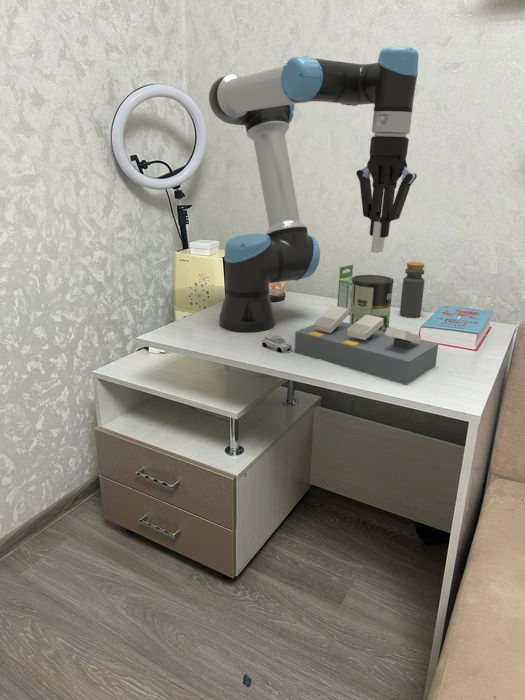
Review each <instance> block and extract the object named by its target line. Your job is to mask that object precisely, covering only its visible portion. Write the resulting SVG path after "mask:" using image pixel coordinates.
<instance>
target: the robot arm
mask: <svg viewBox="0 0 525 700" xmlns="http://www.w3.org/2000/svg"><path fill="white" fill-rule="evenodd" d="M418 68H419V52H418V49H415V48H413V47H410V46H409V47H408V46H391V47H385V48H383V49H381V50H380V52H379V56H378V59H377V62H375V63H373V62H372V63H363V64H361V63H354V62H345V61H337V60H336V61H335V60H328V59H322V58H315V57H312V56H308V55H306V56H292V57H291V58H289V59H288V60H287V62H286V63H285V64H284V65H283V66H279V67H278V66H277V67H274V68H271V69H266V70H263V71H259V72H256V73H255V72H254V73H251V74H247V75H244V76H241V75H239V74H228V75H224V76H221V77H219V78H217V80H215V81H214V82H213V84H212V85H211V87H210V88H209V89H210V90H209V93H208V103H209V106H210V109H211V111H212V113H213V114H214V115H215V117H217V119H219V120H220V121H222V122H224V123H226V124H228V125H235V126H244V127H245V131H246V136H247V138H249V139H251V140H252V141H253V145H254V149H255V151H254V152H255V156H256V161H257V166H258V167H257V168H258V172H259V179H260V183H261V184H260V185H261V190H262V194H263V201H264V207H265V210H266V211H265V213H266V218H267V223H268V230H266V233H252V234H251V233H247V234H246V233H245V234H242V235H238V236H234V237H232V238H230V239H229V240H228V241H226V243H225V246H224V247H225V248H224V257H223V259H224V260H223V261H224V277H225V278H224V280H225V281H224V283H225V286H224V287H225V290H224V291H225V295H224V299H223V303H222V307H221V312H220V313H219V316H218V317H219V319H218V321H219V326H220V327H221V328H223V329H225V330H229V331H234V332H241V333H242V332H243V333H246V332H247V333H249V332H250V333H251V332H252V333H253V332H255V333H256V332H260V331H261V332H262V331H266V330H270V329H272V328H273V327H275V325H276V314H275V312H274V309H273V304H272V301H271V297H270V284H274V283H281V282H288V281H299V280H302V279H306V278H307V279H308V278H309V277H311V276H312V275H313V274H314V273H315V272H316V270H317V267H318V266H319V264H320V261H321V250H320V249H321V248H320V244H319V242H318V241H317V240H316V237H314V236H312V235H311V234H309V231H308V226H307V225H305V224H303V223H302V222H301V220H300V214H299V213H300V212H299V208H298V203H297V198H296V192H295V185H294V180H293V173H292V168H291V163H290V157H289V151H288V145H287V140H286V133H287V132H288V130H289V128H290V123H291V122H292V120H293V118H294V114H295V113H294V111H295V104H304V103H310V102H318V103H320V102H321V103H323V102H325V103H334V104H341V105H343V106H353V107H356V106H358V105H359V106H361V105H372V104H373V105H374V106H373V117H372V118H373V119H372V126H371V132H372V134H374V135H373V136H371V137H370V143H369V159H368V161H367V164H366V166H365V167H363V168H362V169H357V171H356V176H357V178H358V179H357V180H358V182H359V186H360V187H359V188H360V197H361V198H360V199H361V207H362V215H363V217H365V218H367V219H369V220H370V227H369V228H370V229H369V236H371V237H372V239H371V240H372V241H371V247H370V249H371V250H370V252H371V253H374V254H379V253H382V252H384V246H385V238H388V236H389V235H390V225H391V222H393V221H395V220H396V221H397V220H398V219H400V216H401V214H402V213H403V208H404V206H405V203H406V199H407V197H408V194H409V191H410V188H411V186H412V185H413V183H414V182H415V181H416V179H417V173H415V172H414V173H413V172H412V171H411V170H409V169H408V163H407V155H408V148H409V141H410V139H409V137H407V135H409V134H410V133H411V127H412V125H411V123H412V115H413V113H412V112H413V107H414V105H413V104H414V100H415V91H416V86H417V80H418V79H417V78H418V74H419V72H418V71H419V69H418ZM370 177H371V178H372V183H371V179H370ZM400 178H401V182H400V184H399V186H398V189H397V193H396V188H397V185H398V181H399V180H400ZM372 188H373V189H372ZM395 193H396V196H395Z"/></svg>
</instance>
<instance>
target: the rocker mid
mask: <svg viewBox="0 0 525 700" xmlns="http://www.w3.org/2000/svg"><path fill="white" fill-rule="evenodd" d="M383 325H384V318H380V317H376V316H371V315H365V316H364V317H362V318H361V319H360V320H358V321H357V322H356V323H355V324H353V325H352V326H351V327H349V328H348V329H347V335H348V336H351V337H355V338H359V339H363V340H366V339H367V338H368V337H369V336H371V335H372V334H373V333H374V332H375V331H377V330H378V329H379V328H380V327H381V326H383Z"/></svg>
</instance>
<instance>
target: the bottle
mask: <svg viewBox="0 0 525 700" xmlns="http://www.w3.org/2000/svg"><path fill="white" fill-rule="evenodd" d="M406 267H407V268H406V269H405V271H404V273H406V276H405V277H403V279H402V287H401V298H400V306H399V315H400V316H401V317H404V318H408V319H409V318H411V319H412V318H413V319H414V318H419V317H421V313H422V305H423V297H424V289H425V281H426V280H425V279H424V277H422V276H423V275H424V274H425V270H424V267H425V263H423V262H417V261H409V262H407V263H406Z"/></svg>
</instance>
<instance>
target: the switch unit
mask: <svg viewBox="0 0 525 700" xmlns="http://www.w3.org/2000/svg"><path fill="white" fill-rule="evenodd" d="M352 325H353V324H350V322H345V321H342V322H341V323H340V324H339V325H338V326H337V327H336V328H335V329H334V330H333V331H332V332H331V333H327V332H323V331H319V330H315V329H314V324H312V325H309V326H307V327H304V328H301V329H299V330H296V331H295V332H294V335H295V337H294V338H295V339H294V353H296V354H300V355H303V356H307V357H310V358H314V359H317V360H320V361H324V362H328V363H331V364H334V365H338V366H342V367H344V368H348V369H351V370H355V371H358V372H362V373H364V374H368V375H372V376H375V377H378V378H382V379H385V380H389V381H392V382H396V383H399V384H402V385H405V386H406V385H408V384H410V383H411V382H413V381H414V380H416V379H418V378H419V377H420V376H422V375H424V374H425V373H427V372H428V371H430V370H432V368H434V367H436V364H437V356H438V348H439V343H437V342H432V341H428V340H424V339H423V338H421V339H420V342H419V343H415V342H411V341H407V340H403V339H399V338H394V337H391V336H387V335H385V331H380V330H377V331H375V332H374V333H373V334H372V335H371V336H369V337H368V338H367V339H366V340H363V339H359V338H355V337H351V336H348V335H347V329H348V328H349V327H351V326H352Z"/></svg>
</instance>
